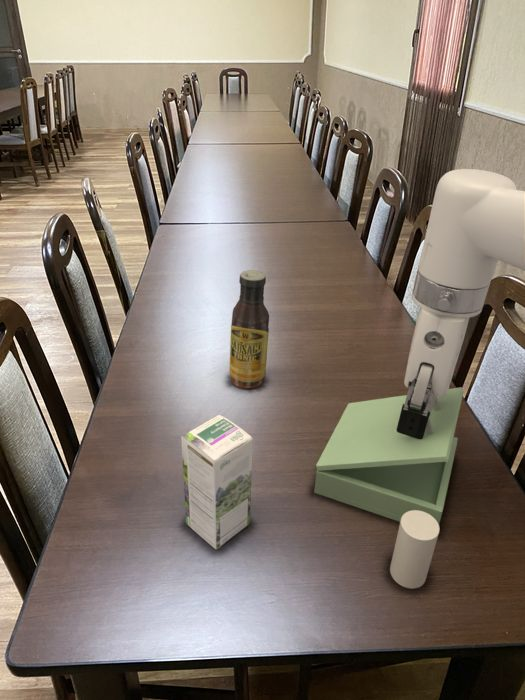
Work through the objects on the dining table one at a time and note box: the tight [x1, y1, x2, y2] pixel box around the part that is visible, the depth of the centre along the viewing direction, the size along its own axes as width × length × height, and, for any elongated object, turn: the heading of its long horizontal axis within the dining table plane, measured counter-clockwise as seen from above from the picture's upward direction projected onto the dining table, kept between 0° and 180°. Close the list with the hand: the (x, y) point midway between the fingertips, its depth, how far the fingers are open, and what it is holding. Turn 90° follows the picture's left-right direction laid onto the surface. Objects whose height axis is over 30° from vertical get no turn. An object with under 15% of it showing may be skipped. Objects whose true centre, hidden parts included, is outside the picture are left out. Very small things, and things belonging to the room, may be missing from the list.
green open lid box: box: [313, 436, 459, 526], centre depth 73 cm, size 16×15×4 cm
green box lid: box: [315, 383, 464, 471], centre depth 69 cm, size 17×15×5 cm
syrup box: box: [180, 414, 254, 551], centre depth 62 cm, size 6×6×14 cm
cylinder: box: [389, 510, 441, 589], centre depth 59 cm, size 4×4×8 cm
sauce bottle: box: [228, 269, 270, 389], centre depth 88 cm, size 6×6×20 cm
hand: (415, 417), depth 68 cm, fingers closed on green box lid, 6 cm apart
